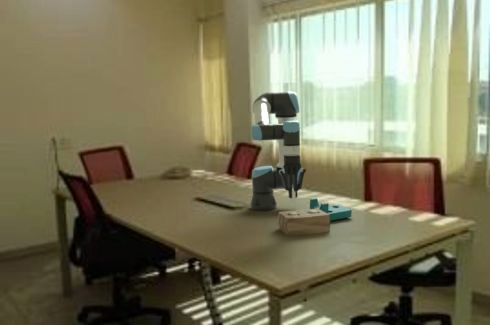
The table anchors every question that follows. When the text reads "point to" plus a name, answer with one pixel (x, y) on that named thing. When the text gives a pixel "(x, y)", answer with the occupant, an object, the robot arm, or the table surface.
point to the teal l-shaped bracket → (331, 209)
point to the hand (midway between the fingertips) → (293, 204)
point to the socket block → (304, 222)
